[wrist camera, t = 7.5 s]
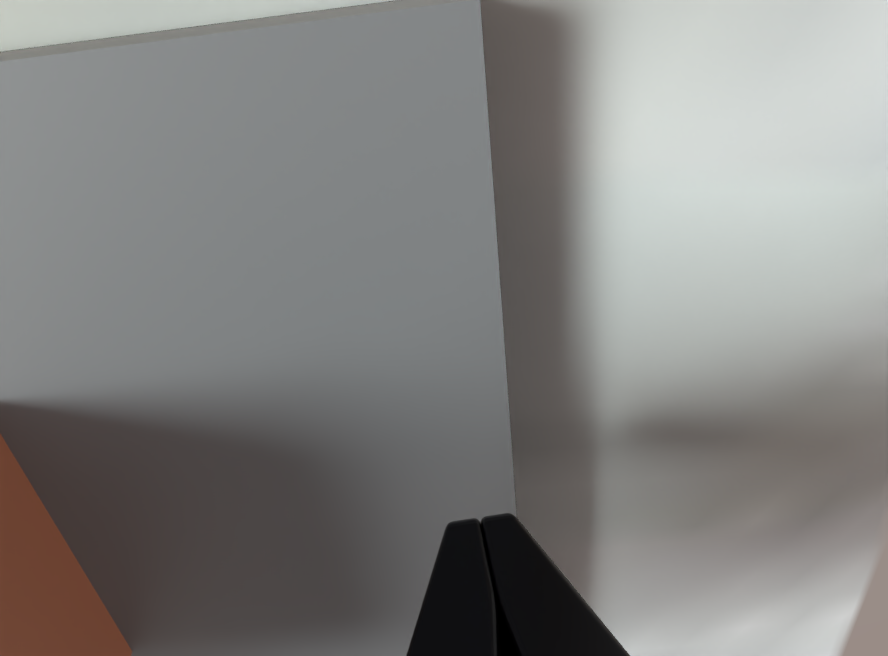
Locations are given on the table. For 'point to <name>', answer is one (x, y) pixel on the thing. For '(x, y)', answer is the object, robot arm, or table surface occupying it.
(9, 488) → the cream block
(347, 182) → the board
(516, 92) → the table surface
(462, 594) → the robot arm
